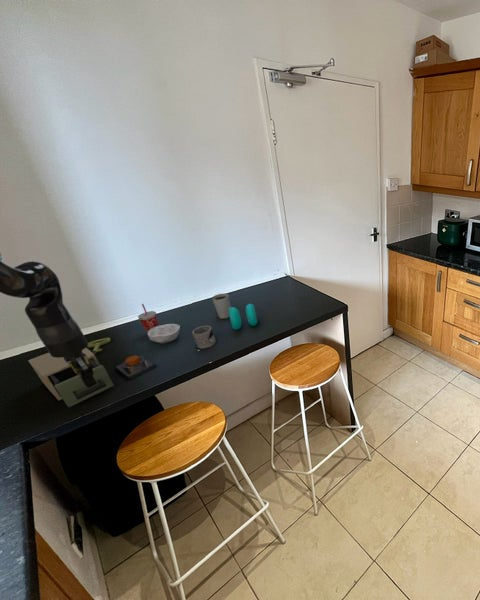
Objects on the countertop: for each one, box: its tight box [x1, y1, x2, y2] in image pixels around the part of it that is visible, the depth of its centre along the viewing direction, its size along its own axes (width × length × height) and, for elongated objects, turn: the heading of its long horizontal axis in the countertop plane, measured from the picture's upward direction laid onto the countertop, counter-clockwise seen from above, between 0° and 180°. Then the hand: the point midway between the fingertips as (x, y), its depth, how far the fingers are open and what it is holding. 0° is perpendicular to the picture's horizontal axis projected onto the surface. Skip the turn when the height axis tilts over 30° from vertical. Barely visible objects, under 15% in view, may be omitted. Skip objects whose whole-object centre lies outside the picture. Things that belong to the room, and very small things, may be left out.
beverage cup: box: [137, 303, 160, 334], centre depth 132 cm, size 6×6×14 cm
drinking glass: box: [211, 293, 232, 319], centre depth 146 cm, size 7×7×10 cm
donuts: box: [229, 303, 259, 330], centre depth 137 cm, size 10×10×10 cm
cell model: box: [147, 323, 181, 344], centre depth 128 cm, size 10×12×7 cm
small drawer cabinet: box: [27, 347, 101, 401], centre depth 105 cm, size 15×13×10 cm
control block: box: [115, 355, 156, 380], centre depth 113 cm, size 10×8×3 cm
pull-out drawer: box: [48, 359, 115, 408], centre depth 100 cm, size 18×11×8 cm, turn 58°
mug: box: [191, 324, 217, 350], centre depth 127 cm, size 10×7×7 cm
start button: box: [124, 355, 140, 366], centre depth 112 cm, size 4×4×2 cm
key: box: [86, 337, 112, 355], centre depth 125 cm, size 7×12×2 cm, turn 53°
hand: (91, 385), depth 92 cm, fingers closed
